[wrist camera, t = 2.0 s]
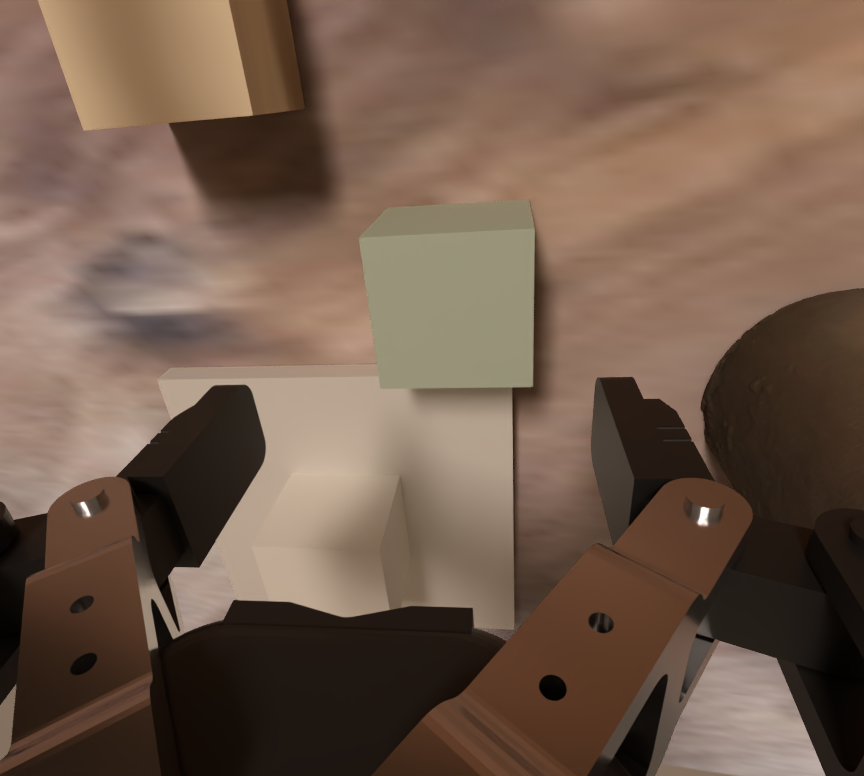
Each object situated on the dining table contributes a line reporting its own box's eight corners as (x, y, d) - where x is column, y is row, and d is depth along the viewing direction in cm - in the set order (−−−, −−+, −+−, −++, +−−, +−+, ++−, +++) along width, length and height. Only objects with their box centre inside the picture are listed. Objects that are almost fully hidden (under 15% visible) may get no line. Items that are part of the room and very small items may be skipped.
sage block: (528, 198, 20) (534, 228, 16) (528, 332, 23) (533, 387, 19) (387, 207, 21) (358, 237, 17) (402, 335, 24) (380, 388, 20)
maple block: (273, -83, 17) (199, -137, 13) (306, 108, 20) (253, 115, 16) (118, -61, 18) (1, -105, 14) (169, 121, 21) (83, 130, 16)
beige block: (400, 475, 26) (379, 550, 22) (410, 557, 28) (394, 639, 24) (291, 474, 27) (251, 546, 22) (311, 554, 29) (279, 632, 25)
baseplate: (511, 361, 24) (512, 374, 22) (514, 611, 31) (514, 630, 30) (170, 367, 26) (156, 379, 25) (251, 599, 33) (243, 616, 32)
